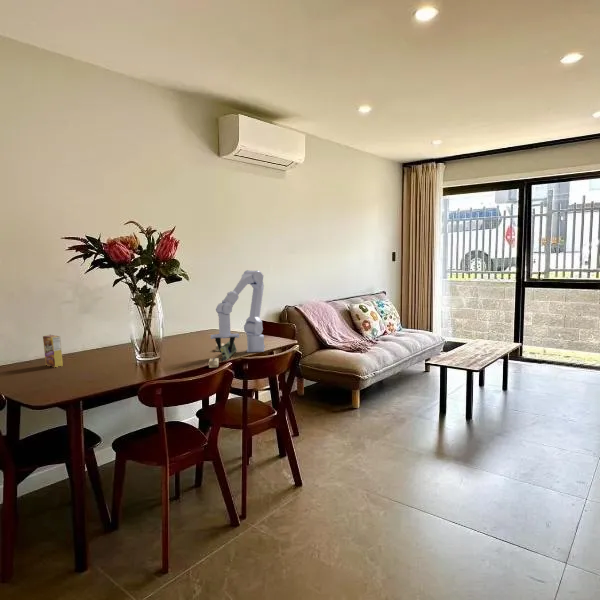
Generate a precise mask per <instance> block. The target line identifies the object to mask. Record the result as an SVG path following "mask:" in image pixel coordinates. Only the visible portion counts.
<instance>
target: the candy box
mask: <svg viewBox="0 0 600 600" xmlns="http://www.w3.org/2000/svg"><path fill="white" fill-rule="evenodd" d="M42 342H43V343H42V344H43V349H44V360H45V366H46V365H47V366H46V367H50V366H52V367H51V368H55V367H57V368H59V367H58V366H61V367H63V366H64V365H63V364H64V363H63V353H62V352H63V351H62V343H61V335H53V334H46V335H42Z"/></svg>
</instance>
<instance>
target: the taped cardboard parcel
mask: <svg viewBox="0 0 600 600" xmlns="http://www.w3.org/2000/svg"><path fill="white" fill-rule="evenodd" d="M224 345H225V343H223V342H222V343H221V347H222V346H224ZM215 352H220V351H219V347H218V345H217V343H216V344H215ZM219 362H220V361H219V357H216V358H215V357H214V358H212V357H211V358H209V361H208V368H218V367H219V365H220V364H219Z"/></svg>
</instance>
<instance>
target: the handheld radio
mask: <svg viewBox="0 0 600 600" xmlns="http://www.w3.org/2000/svg"><path fill="white" fill-rule="evenodd" d="M220 350H221V353H220V354H221V356H222V358H221V359H220V361H221V362H224V360H225V361H227V360H229V358H231V356H232V355H234V354H235V353H236V352H237V347H236V343H235V341H234V342H233V345H232V352H230V340H228V341H227V343H224V346H222V347H221V348H220Z"/></svg>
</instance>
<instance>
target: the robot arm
mask: <svg viewBox="0 0 600 600" xmlns="http://www.w3.org/2000/svg"><path fill="white" fill-rule="evenodd" d="M247 285H250V286H251V287H252V288H253V289H252V296H251V304H250V311H249V316H248V317H247V318H246V320H245V323H244V325H243V331H244V333H246V343H247V344H246V345H247V348H246V353H257V352H258V353H261V352H263V353H264V352H265V348H266V347H265V346H266V345H265V335H264V334H262V333H263V330H264V328H263V327H264V326H263V321H262V319H261V318H260V316H261V310H262V309H261V308H262V301H263V295H264V287H265V285H264V274H263V273H262V272H261V270H248V269H247V270H245V271H244V272H243V273H242V274H241V278H240V280H239V281H238V282H237V284H236V286H235V287H234V288H233V290H232V291H229V292H227V293H226V296H225V298H224V299H222V301H221V302H220V303H218V304H217V306H216V308H215V311H216V313H217V316H218V330H219V331H218V332H219V333H215V334H210V339H211V340H213V339H214V341H215V343H216V344H217V345H218V347H219V351H218V352H219V353H220V354H222V353H221V350H220V348H221V344H222V340H221V339H229V341H230V352H232V345H233V342H234V343H235V340H236V339H239V338H240V333H231V313H232V311H233V307H234V305H235V303H237V301H238V300H239V295H240V294H241V293H242V291H243V290H244V289H245V288H246V287H247Z"/></svg>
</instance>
